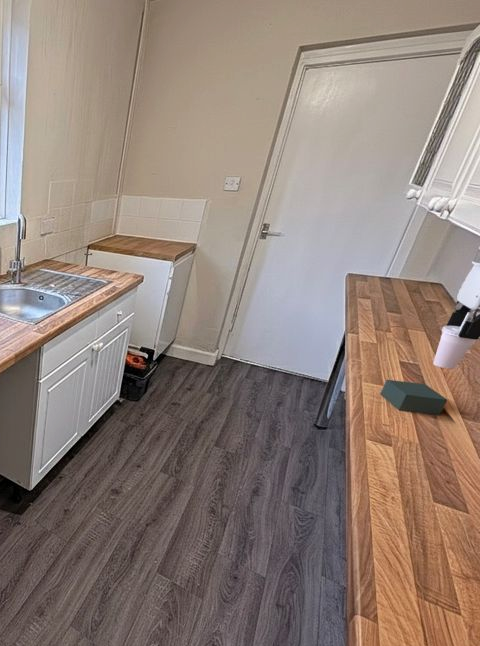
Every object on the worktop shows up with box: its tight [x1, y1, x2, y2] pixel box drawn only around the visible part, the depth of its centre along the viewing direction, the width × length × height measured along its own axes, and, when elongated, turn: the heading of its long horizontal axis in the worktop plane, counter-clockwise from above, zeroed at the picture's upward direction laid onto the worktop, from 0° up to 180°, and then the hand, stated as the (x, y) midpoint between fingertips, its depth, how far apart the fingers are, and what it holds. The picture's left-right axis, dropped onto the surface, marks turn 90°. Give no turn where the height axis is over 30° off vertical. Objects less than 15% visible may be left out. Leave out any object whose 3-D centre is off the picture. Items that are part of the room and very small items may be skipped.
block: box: [379, 379, 448, 416], centre depth 117 cm, size 9×9×5 cm
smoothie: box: [432, 312, 480, 370], centre depth 100 cm, size 6×6×14 cm
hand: (461, 332), depth 100 cm, fingers closed on smoothie, 6 cm apart
